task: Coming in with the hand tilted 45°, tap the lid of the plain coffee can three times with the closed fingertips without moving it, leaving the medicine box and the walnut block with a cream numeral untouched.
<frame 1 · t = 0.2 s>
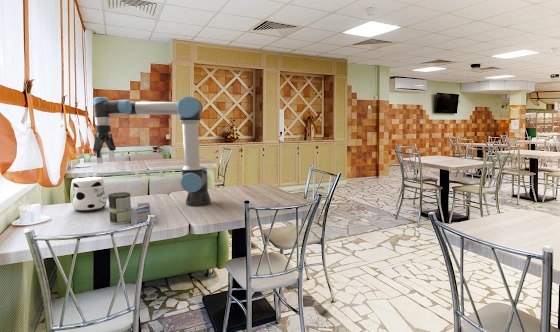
hand: (106, 162, 196), 28 cm above the table, tool pointing down, fingers open, 13 cm apart
medicine box: (141, 224, 172), on the table
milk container: (90, 209, 201), on the table
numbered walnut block: (144, 216, 185), on the table
coffee can: (121, 221, 177), on the table
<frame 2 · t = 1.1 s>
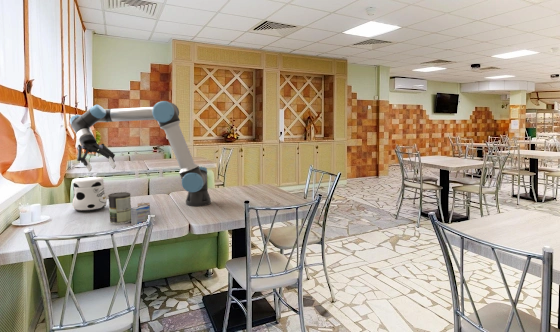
hand: (102, 168, 182), 26 cm above the table, tool tilted 45°, fingers open, 12 cm apart
nothing on the table moved.
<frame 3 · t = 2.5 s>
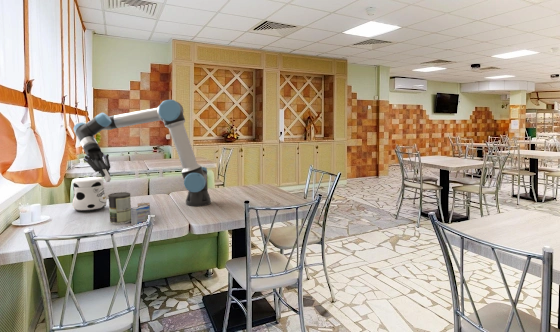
hand: (108, 180, 178), 21 cm above the table, tool tilted 45°, fingers closed
nothing on the table moved.
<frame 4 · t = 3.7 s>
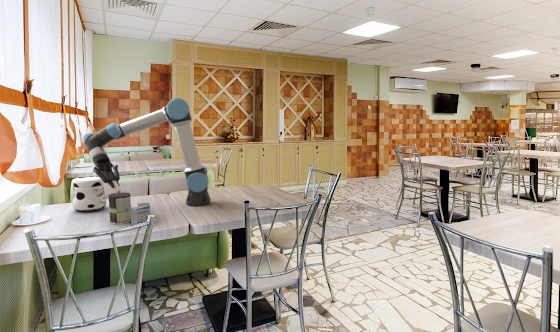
hand: (118, 192, 175), 15 cm above the table, tool tilted 45°, fingers closed
coffee can: (121, 221, 177), on the table, touching gripper
everything else where it was.
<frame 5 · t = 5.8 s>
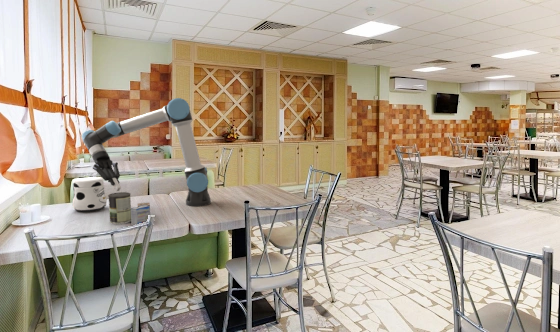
hand: (118, 189, 175), 17 cm above the table, tool tilted 45°, fingers closed
coffee can: (121, 221, 177), on the table
everything else where it was.
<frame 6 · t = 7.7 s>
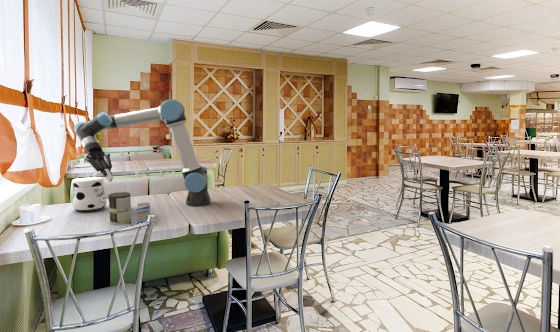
hand: (110, 179, 178), 21 cm above the table, tool tilted 45°, fingers closed
nothing on the table moved.
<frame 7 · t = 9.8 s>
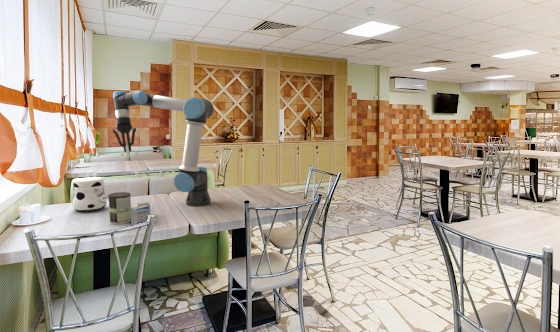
hand: (128, 157, 203), 30 cm above the table, tool pointing down, fingers closed
nothing on the table moved.
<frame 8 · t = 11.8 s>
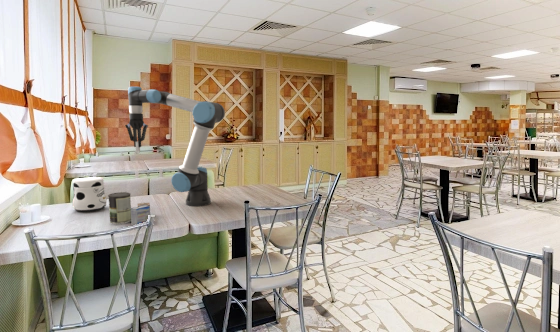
hand: (138, 152, 209), 32 cm above the table, tool pointing down, fingers closed
nothing on the table moved.
at the end: coffee can moved 0.2 cm from its start; coffee can tilted 0°; the gripper is holding nothing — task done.
